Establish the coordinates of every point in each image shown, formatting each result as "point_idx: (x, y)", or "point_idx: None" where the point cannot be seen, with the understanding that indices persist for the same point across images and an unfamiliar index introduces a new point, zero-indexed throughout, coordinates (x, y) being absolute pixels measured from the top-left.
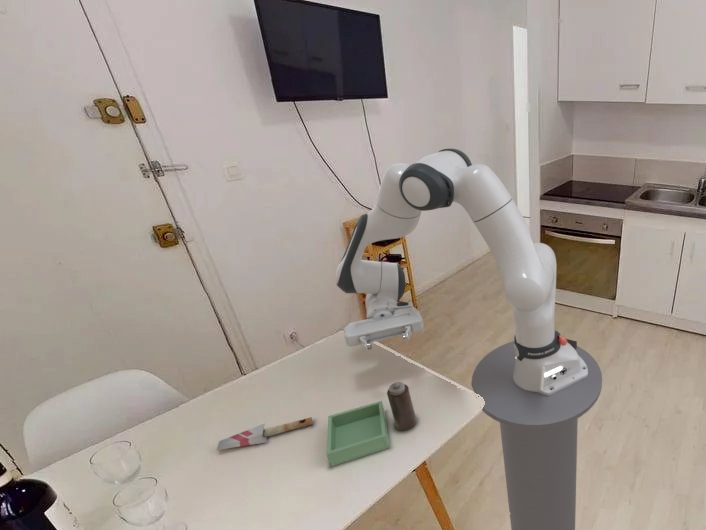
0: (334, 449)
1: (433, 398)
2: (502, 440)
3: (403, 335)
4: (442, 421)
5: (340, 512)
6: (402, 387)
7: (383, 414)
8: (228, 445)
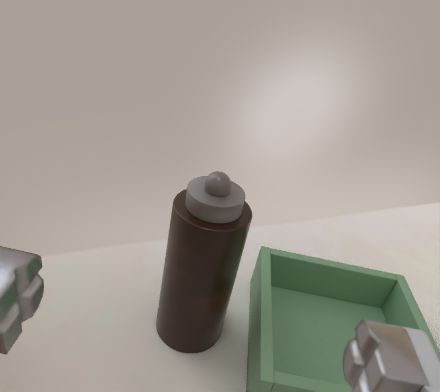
0: (388, 278)
1: (49, 376)
2: None
3: (17, 259)
4: (96, 274)
5: (339, 225)
6: (198, 179)
7: (259, 320)
8: None
